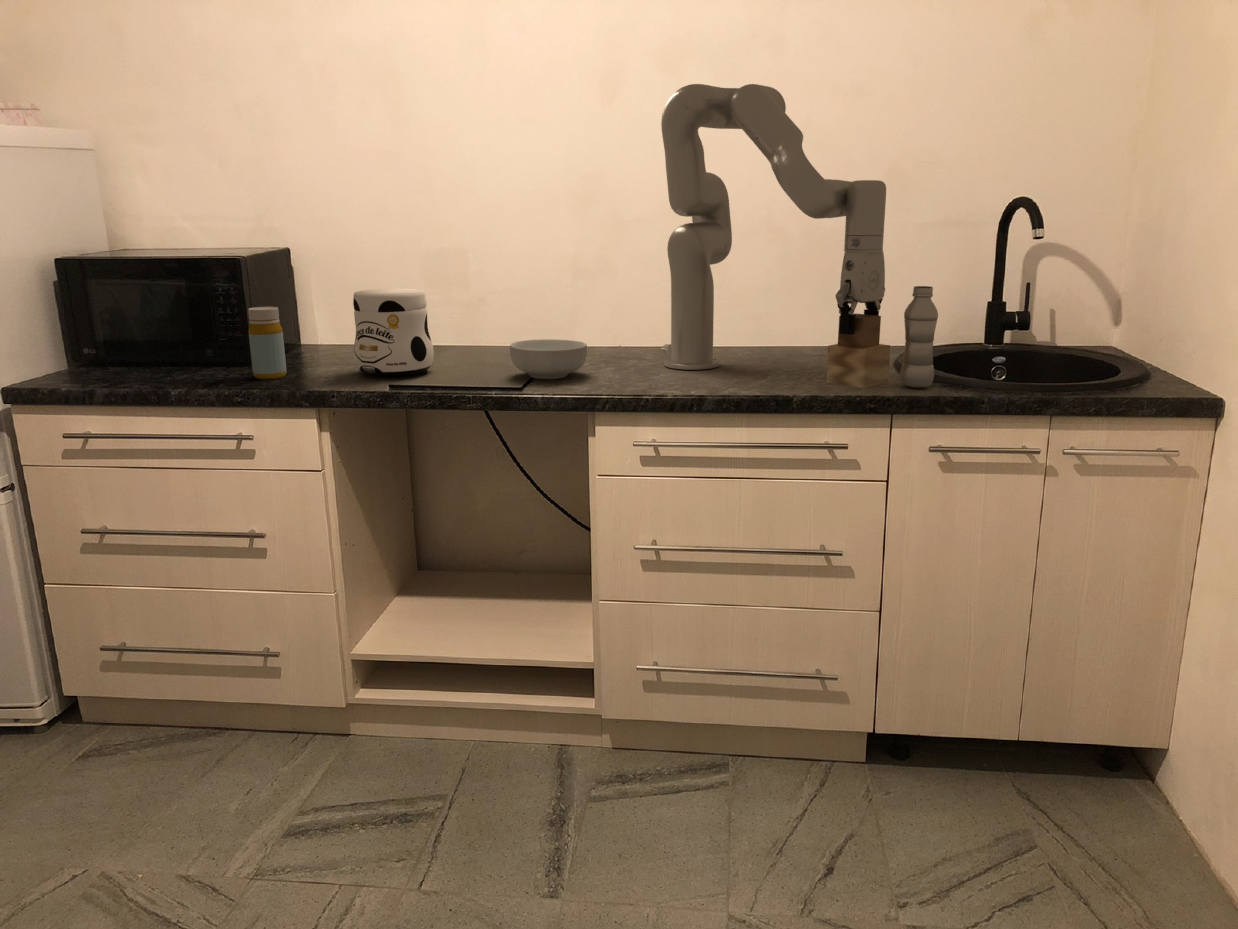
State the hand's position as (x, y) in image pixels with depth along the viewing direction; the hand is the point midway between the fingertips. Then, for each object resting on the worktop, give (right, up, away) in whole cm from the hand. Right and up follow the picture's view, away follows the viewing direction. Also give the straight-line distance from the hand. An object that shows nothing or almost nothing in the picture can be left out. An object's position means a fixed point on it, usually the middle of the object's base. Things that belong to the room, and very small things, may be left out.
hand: (858, 331), depth 202 cm
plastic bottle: (+11, -12, -3) cm, 16 cm away
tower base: (0, -10, +3) cm, 11 cm away
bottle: (-126, -8, +15) cm, 127 cm away
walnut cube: (0, -3, +1) cm, 3 cm away
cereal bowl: (-64, -8, +13) cm, 66 cm away
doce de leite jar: (-99, -7, +18) cm, 101 cm away
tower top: (0, -7, +2) cm, 7 cm away
